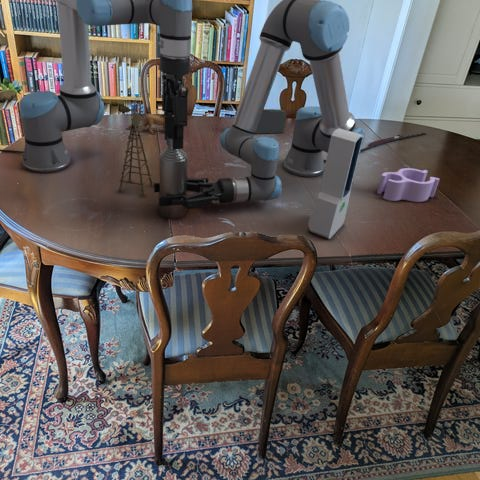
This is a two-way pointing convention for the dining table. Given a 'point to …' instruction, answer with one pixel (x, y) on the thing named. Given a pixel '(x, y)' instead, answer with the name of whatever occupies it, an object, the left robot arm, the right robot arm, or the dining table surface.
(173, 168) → the bottle
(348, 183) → the electronic device
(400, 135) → the sword
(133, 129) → the miniature windmill
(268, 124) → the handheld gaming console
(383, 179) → the clip
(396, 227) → the dining table surface
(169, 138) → the cap
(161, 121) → the lion figurine
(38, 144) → the left robot arm
